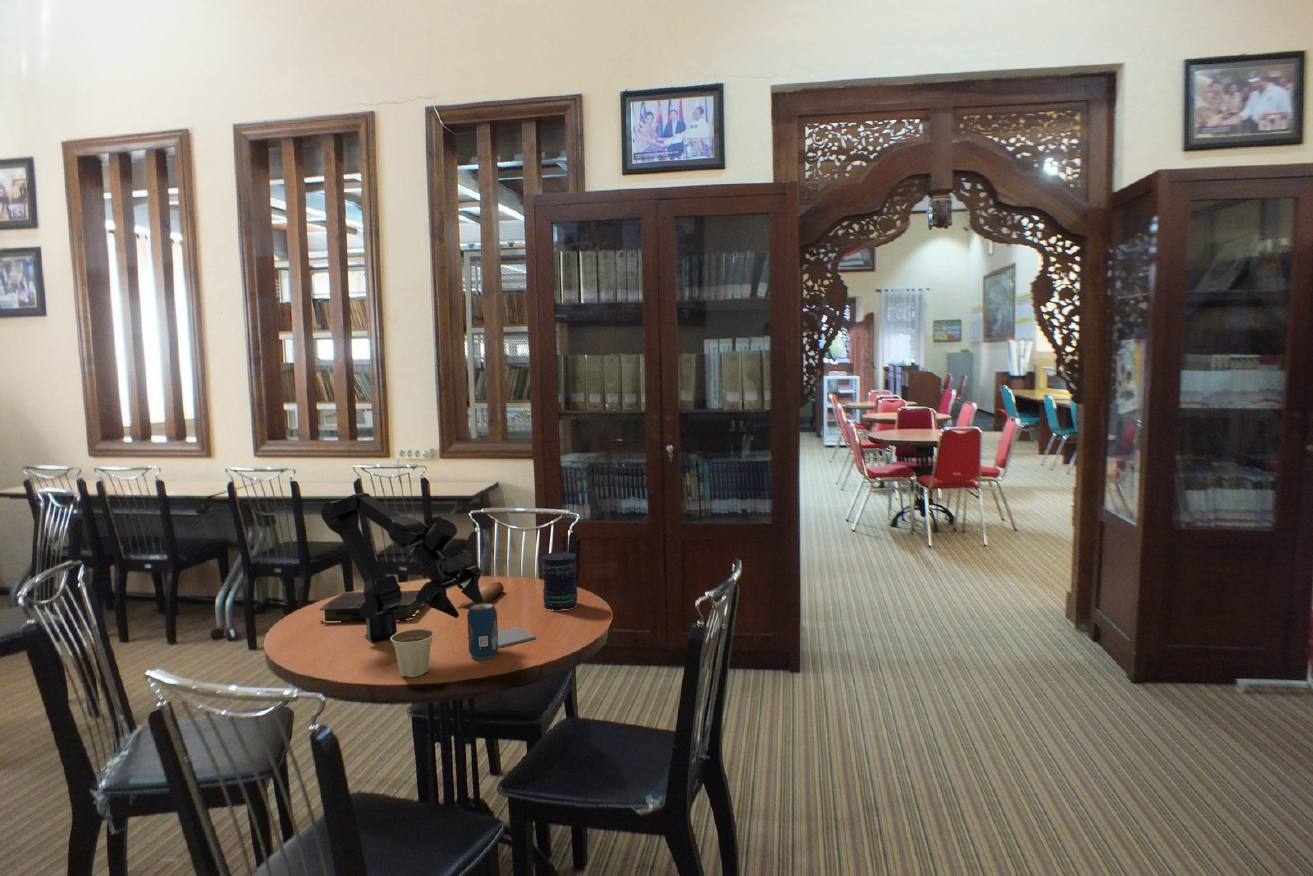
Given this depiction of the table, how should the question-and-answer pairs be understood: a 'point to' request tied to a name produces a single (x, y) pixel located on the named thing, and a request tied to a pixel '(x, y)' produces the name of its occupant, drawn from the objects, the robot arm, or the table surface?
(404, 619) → the diary
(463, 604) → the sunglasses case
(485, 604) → the soda can
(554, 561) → the storage jar
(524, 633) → the coaster
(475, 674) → the table surface
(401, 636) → the flower pot
